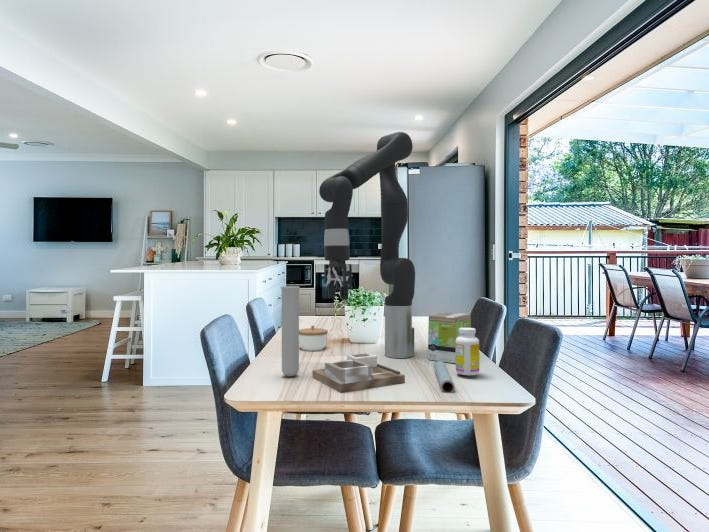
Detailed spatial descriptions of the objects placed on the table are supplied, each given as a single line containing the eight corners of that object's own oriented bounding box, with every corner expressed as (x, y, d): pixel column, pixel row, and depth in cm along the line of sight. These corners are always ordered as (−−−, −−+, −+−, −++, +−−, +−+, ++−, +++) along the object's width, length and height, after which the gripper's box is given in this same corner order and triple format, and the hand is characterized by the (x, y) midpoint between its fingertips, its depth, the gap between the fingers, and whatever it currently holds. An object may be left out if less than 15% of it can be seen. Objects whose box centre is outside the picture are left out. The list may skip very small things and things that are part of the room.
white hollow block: (367, 363, 131) (367, 352, 131) (376, 366, 127) (376, 355, 127) (346, 365, 128) (346, 354, 128) (355, 369, 123) (355, 357, 123)
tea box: (456, 363, 141) (456, 317, 141) (426, 360, 146) (427, 315, 146) (471, 355, 153) (471, 312, 153) (443, 352, 159) (443, 311, 159)
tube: (297, 379, 121) (297, 287, 121) (278, 378, 122) (278, 287, 122) (301, 374, 127) (301, 286, 127) (283, 373, 127) (283, 286, 127)
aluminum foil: (454, 394, 108) (455, 380, 108) (427, 393, 109) (427, 379, 109) (445, 372, 131) (445, 360, 131) (422, 371, 131) (422, 360, 131)
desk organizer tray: (371, 369, 132) (371, 351, 132) (404, 382, 117) (404, 361, 117) (312, 377, 123) (312, 357, 123) (340, 392, 108) (340, 369, 108)
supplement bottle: (480, 371, 130) (480, 327, 130) (478, 376, 124) (478, 330, 124) (456, 369, 132) (456, 326, 132) (454, 374, 126) (454, 329, 126)
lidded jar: (296, 349, 164) (296, 324, 164) (324, 348, 167) (324, 323, 167) (299, 355, 154) (299, 328, 154) (330, 354, 156) (330, 327, 156)
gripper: (359, 243, 129) (360, 299, 129) (337, 245, 141) (338, 296, 142) (336, 243, 125) (337, 301, 125) (315, 245, 138) (316, 297, 138)
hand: (337, 298), depth 134 cm, fingers open, 8 cm apart
